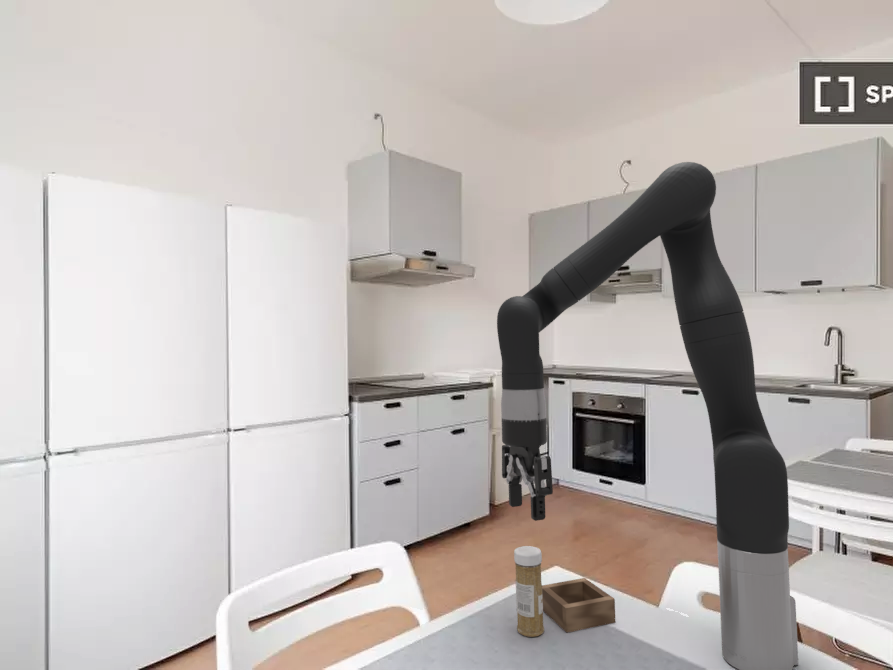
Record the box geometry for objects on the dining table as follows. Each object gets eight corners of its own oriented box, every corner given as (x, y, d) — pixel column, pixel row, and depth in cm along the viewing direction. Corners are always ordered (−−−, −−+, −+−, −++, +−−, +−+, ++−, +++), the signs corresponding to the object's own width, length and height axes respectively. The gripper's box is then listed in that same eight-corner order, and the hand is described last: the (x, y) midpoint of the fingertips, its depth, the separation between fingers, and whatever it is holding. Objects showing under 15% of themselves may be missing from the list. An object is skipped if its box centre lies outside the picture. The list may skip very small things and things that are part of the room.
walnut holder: (585, 599, 104) (584, 577, 104) (615, 622, 95) (614, 598, 95) (540, 608, 101) (539, 585, 101) (566, 632, 92) (565, 608, 92)
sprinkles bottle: (550, 632, 92) (547, 550, 93) (529, 641, 90) (526, 556, 90) (531, 621, 96) (528, 543, 96) (510, 629, 94) (508, 548, 94)
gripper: (565, 418, 88) (568, 522, 88) (525, 410, 102) (527, 499, 101) (521, 422, 86) (525, 527, 86) (487, 412, 99) (489, 504, 99)
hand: (526, 512), depth 93 cm, fingers open, 8 cm apart
